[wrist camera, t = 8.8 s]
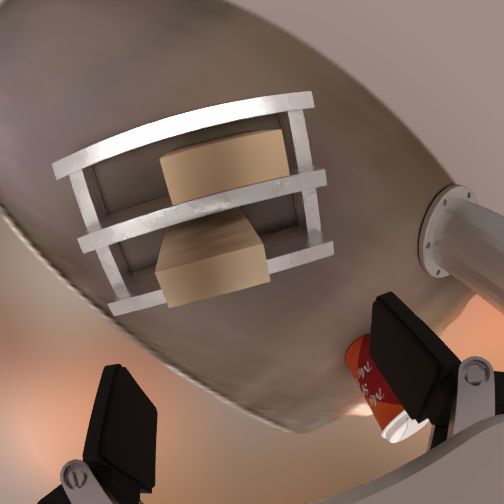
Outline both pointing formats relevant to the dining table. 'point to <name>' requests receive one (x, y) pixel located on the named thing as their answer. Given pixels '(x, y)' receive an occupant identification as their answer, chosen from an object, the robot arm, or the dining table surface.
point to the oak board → (224, 164)
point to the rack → (165, 214)
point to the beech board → (210, 258)
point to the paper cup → (379, 393)
